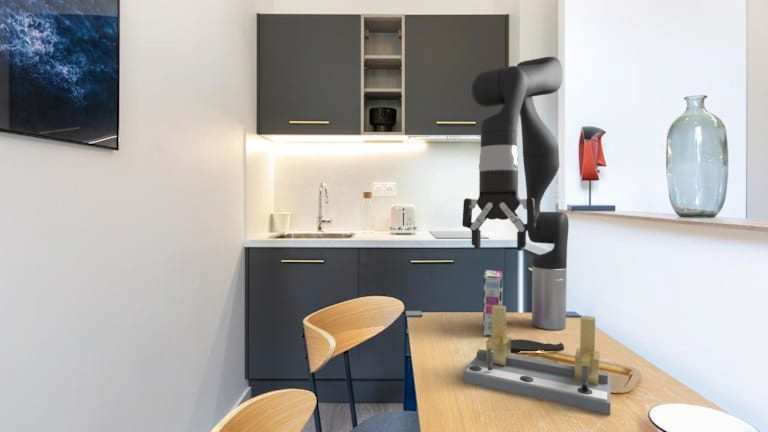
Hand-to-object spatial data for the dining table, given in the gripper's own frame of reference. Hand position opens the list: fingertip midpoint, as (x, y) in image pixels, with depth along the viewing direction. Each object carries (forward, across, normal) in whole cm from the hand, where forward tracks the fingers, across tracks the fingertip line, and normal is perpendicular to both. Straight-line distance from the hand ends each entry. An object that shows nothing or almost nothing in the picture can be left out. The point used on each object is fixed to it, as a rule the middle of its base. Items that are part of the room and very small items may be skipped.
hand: (498, 249), depth 83 cm
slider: (+24, +1, -1) cm, 24 cm away
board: (+27, -7, 0) cm, 28 cm away
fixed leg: (+25, -16, -1) cm, 30 cm away
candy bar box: (+27, +8, -30) cm, 41 cm away
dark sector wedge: (+27, -4, -20) cm, 34 cm away
